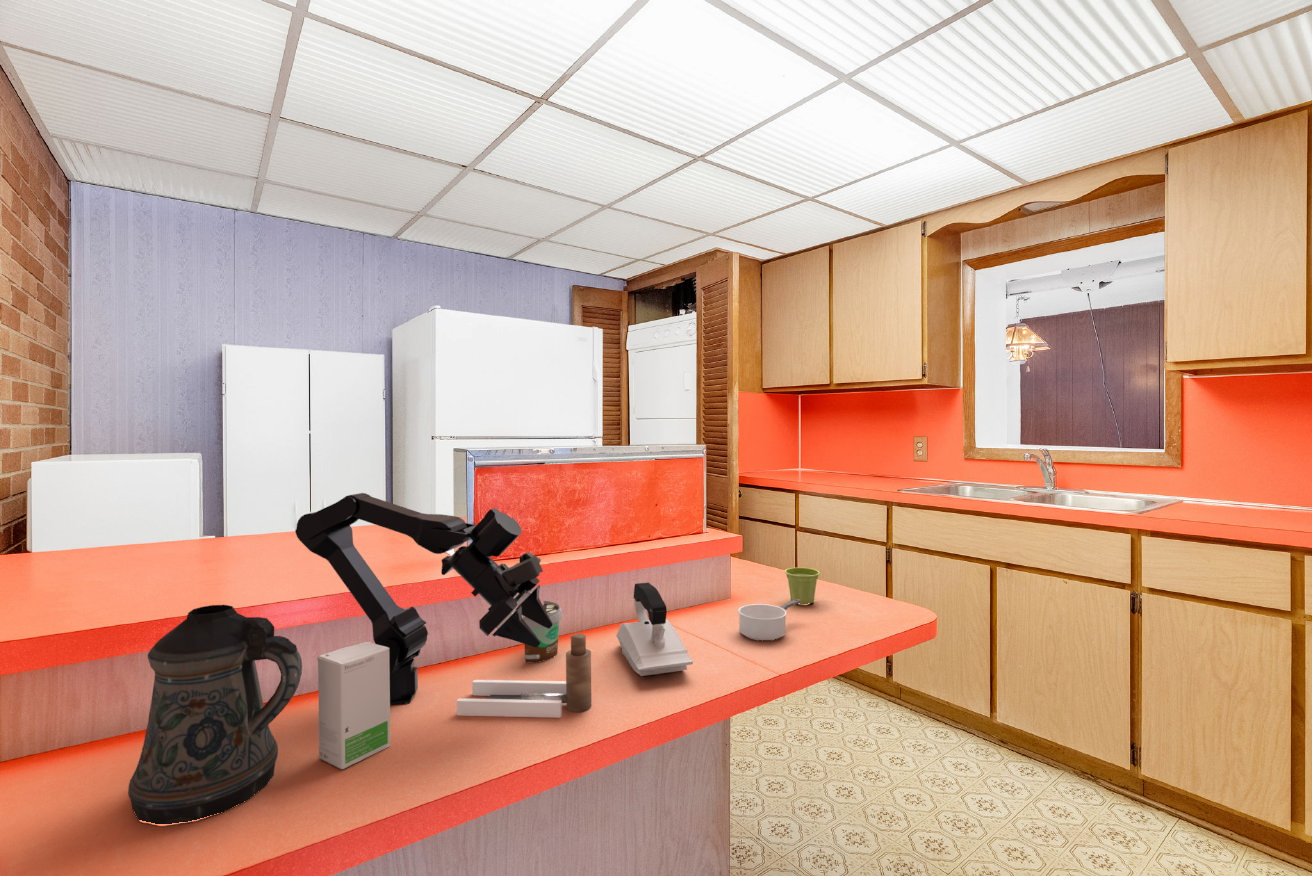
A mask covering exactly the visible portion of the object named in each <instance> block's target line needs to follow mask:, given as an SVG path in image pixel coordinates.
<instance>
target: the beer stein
mask: <svg viewBox="0 0 1312 876" xmlns="http://www.w3.org/2000/svg"><path fill="white" fill-rule="evenodd" d="M275 628H276V627H275V626H274V625H273V623H272V622H271V621H270V620H269V619H268V618H267V617H262V616H261V617H260V616H257V617H256V616H253V617H252V616H251V617H247V616H244V615H242V614H241V613H238V612H237V610H236V609H235V607H234V606H233V605H227V604H211V605H204V606H200V607H197V608H193V609H192V610H190V611H189V612H188V613H187V617H186V619H185V620H183V621H182V622H180V623H179V624H178V625H177V626H175V627H174V628H173V629H172V630H170V631H169V632H167V633H166V634H165V635H163V636H161V638H159V640H158V641H156V642H155V644H154V645H153V646H152V648H150V650H149V652H148V653H147V660H148V663H149V665H150V668H151V669H152V671H154V680H153V681H154V682H153V687H152V695H151V701H150V708H149V711H148V712H149V713H148V721H147V725H146V729H145V734H144V735H145V736H144V739H143V740H144V741H143V746H142V749H141V753H140V757H139V760H138V763H137V765H136V768H135V770H134V772H133V773H132V777H131V778H130V780H129V783H128V787H127V788H128V790H127V795H128V797H129V799H130V800H129V801H130V802H131V810H132V812H133V813H134V812H135V813H134V815H135V814H136V815H135V817H136V816H137V817H136V819H137V818H138V819H139V820H142V821H146V822H151V823H155V824H172V823H179V822H188V821H192V820H197V819H200V818H204V817H207V816H210V815H214V814H217V813H221V812H224V811H225V810H228V809H230V808H232V807H234V806H236V805H238V804H240V805H242V804H244V803H245V802H244V801H246V800H248V799H249V800H251V798H250V797H252V796H253V797H254V796H255V795H257V794H258V793H259V792H260V790H261V789H262V788H263V789H265V786H266V785H267V786H268V785H269V783H270V781H271V780H272V778H273V777H274V775H275V769H276V768H275V766H276V764H277V763H276V762H277V760H278V759H277V758H278V755H279V747H278V742H277V740H276V739H275V737H274V735H273V733H272V731H271V729H270V724H271V723H272V722H273V721H274V720H276V718H277V717H278V716H279V715H280V713H281V712H283V710H284V709H285V708H286V707H287V705H288V704H289V702H291V700H292V698H293V697H294V695H295V693H296V691H297V689H298V687H299V684H300V682H301V677H302V673H303V661H302V656H301V654H300V653H299V651H298V648H297V645H296V644H295V643H294V642H292V641H291V640H290V639H289V638H287V637H285V636H282V635H275ZM262 660H269V661H271V662H274V663H275V664H276V665H277V668H278V669H279V671H280V672H279V673H280V681H279V683H278V686H276V689H275V692H274V693H273V695H272V696H271V697H270V699H269V700H268V701H267V702H266V703H265V704H264V701H263V696H262V691H261V690H262V689H261V684H260V680H259V674H258V670H257V665H256V661H262ZM270 779H271V780H270ZM268 782H269V783H268ZM267 786H266V787H267ZM263 789H262V790H263ZM262 790H261V791H262ZM258 791H259V792H258ZM257 792H258V793H257ZM256 793H257V794H256ZM254 794H255V795H254ZM253 797H252V798H253ZM249 800H248V801H249ZM243 802H244V803H243ZM246 802H247V801H246ZM241 803H242V804H241ZM238 806H239V805H238ZM236 807H237V806H236ZM234 808H235V807H234ZM232 809H233V808H232ZM230 810H231V809H230ZM228 811H229V810H228ZM224 813H225V812H224ZM221 814H222V813H221ZM138 819H137V820H138Z"/></svg>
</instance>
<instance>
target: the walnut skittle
mask: <svg viewBox="0 0 1312 876" xmlns="http://www.w3.org/2000/svg"><path fill="white" fill-rule="evenodd" d="M586 637H587V635H586V634H584V633H575V634H571V635H570V649H569V650H567V651H566V652H565V681H566V703H565V704H566V710H567V711H569V712H573V713H581V712H587V711H589V710H590V709H591V708H592V652H591V650H589V649H587V645H586V644H587V642H586V641H587V639H586Z"/></svg>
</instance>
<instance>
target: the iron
mask: <svg viewBox="0 0 1312 876" xmlns="http://www.w3.org/2000/svg"><path fill="white" fill-rule="evenodd" d="M633 599H634V610H635V614H636V618H637V621H634V622H626V623H620V625H619V628H618V630H617V632H616V638H617V640H618V643H619V645H620V647H621V654H623V656H624V657H625V658H626V660H627V661H628V664H629V666H630V667H631V668H632V670H633V671H634V672H635V673H637V674H638V675H639V676H640V677H644V676H651V675H660V674H665V673H673V672H680V671H687V670H688V668H687V666H688V665H689V666H691V665H694V661H693V660H692V658H691V656H690V654H689V652H688V649H687V648H686V647H685V645H684V643H683V641H682V639H681V637H680V635H679V634H678V633H677V631H676V629H675V627H673V625H672V624H671V622H670V621H669V620H668V619H667V612H668V611H667V605H666V603H665V601H664V600H663V598H662V596H661V593H660V591H658V589H657V588H656V587H655V586H653V585H652V584H651V583H650V582H641V583H640V582H639V583H634V587H633ZM647 614H648V615H647Z"/></svg>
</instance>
